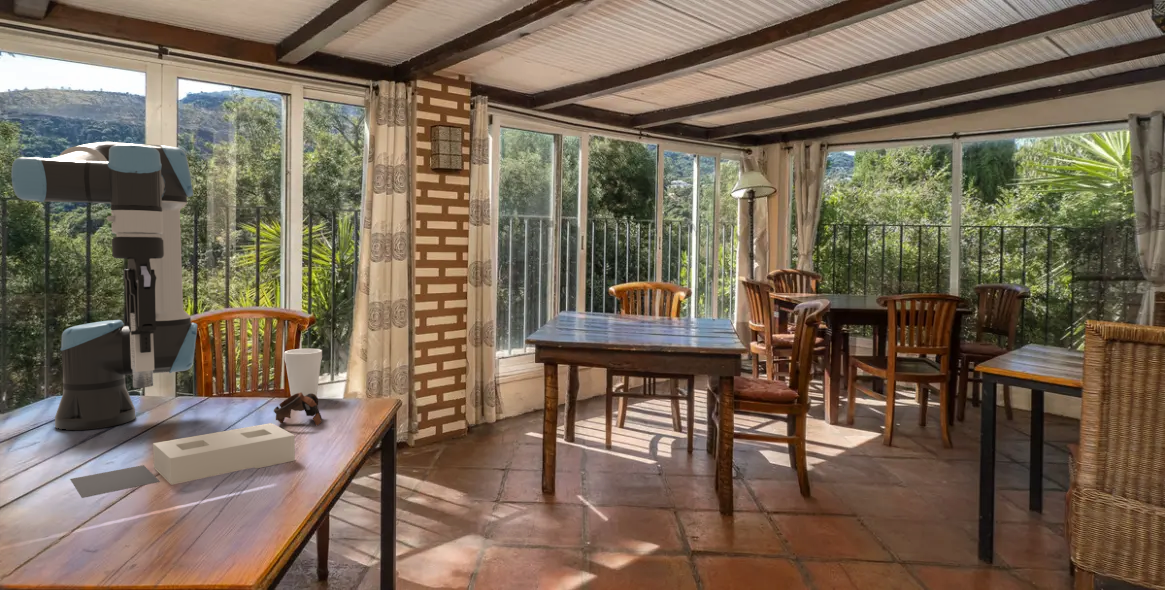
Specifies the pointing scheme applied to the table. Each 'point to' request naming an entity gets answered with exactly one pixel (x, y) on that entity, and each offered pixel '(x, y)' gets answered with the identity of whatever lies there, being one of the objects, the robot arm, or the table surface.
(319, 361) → the foam cup
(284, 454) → the hole block
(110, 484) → the mat
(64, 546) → the table surface
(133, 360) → the peg
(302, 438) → the table surface
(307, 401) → the brown arched piece
